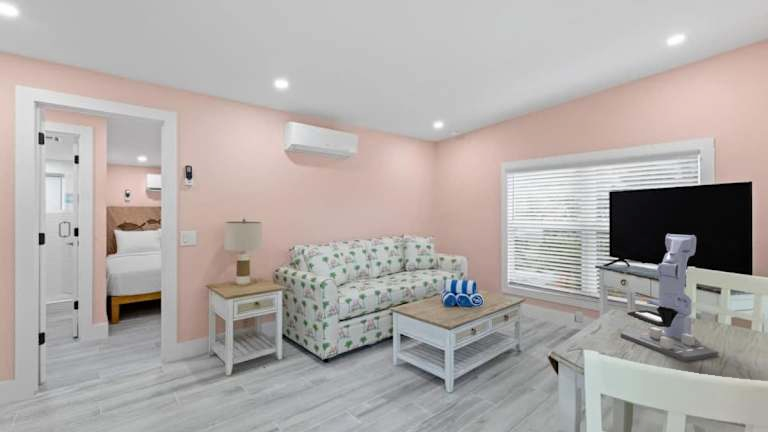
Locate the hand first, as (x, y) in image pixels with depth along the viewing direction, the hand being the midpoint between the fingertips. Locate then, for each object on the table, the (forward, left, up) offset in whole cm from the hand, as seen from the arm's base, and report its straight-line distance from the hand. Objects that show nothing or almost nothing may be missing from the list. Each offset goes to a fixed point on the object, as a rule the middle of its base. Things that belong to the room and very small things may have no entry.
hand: (666, 326), depth 136 cm
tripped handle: (0, -4, -6) cm, 7 cm away
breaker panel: (0, 0, -8) cm, 8 cm away
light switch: (-28, -24, -8) cm, 38 cm away
